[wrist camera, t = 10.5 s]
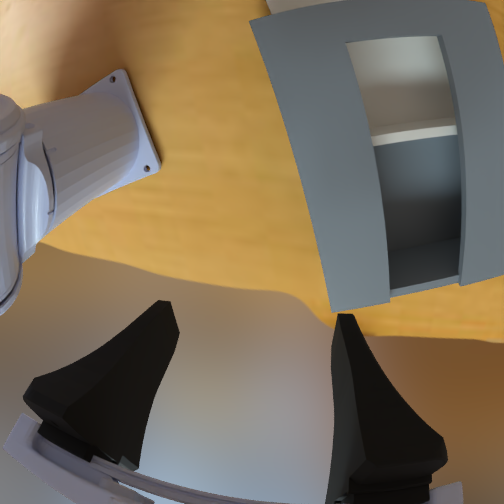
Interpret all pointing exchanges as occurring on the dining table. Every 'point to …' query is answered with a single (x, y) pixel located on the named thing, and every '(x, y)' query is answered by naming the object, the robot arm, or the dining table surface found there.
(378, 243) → the grey drawer housing
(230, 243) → the dining table surface
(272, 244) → the dining table surface
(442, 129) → the toy drawer
